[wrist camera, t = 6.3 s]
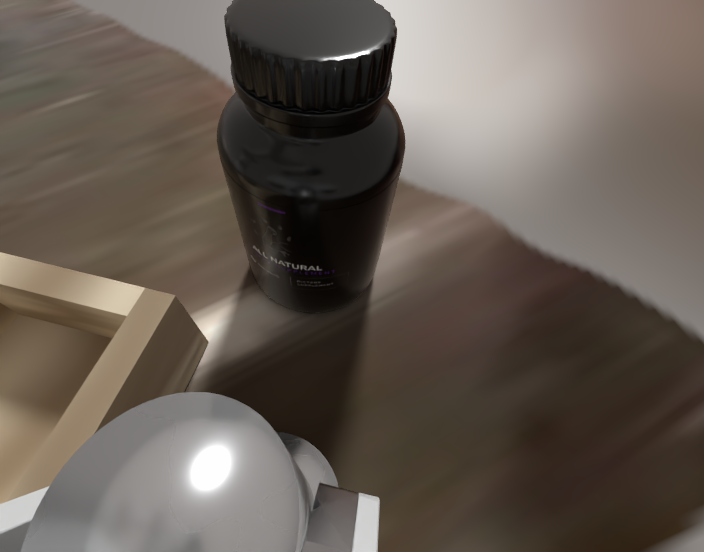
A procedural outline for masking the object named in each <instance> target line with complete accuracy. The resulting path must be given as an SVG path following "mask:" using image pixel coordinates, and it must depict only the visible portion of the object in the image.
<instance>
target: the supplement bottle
mask: <svg viewBox="0 0 704 552" xmlns="http://www.w3.org/2000/svg"><path fill="white" fill-rule="evenodd" d="M224 17H225V28H226V36H227V41H228V46H229V51H230V57H231V74H232V79H233V84H234V88H235V91H236V92H235V93H234V94H233V95H232V96H231V98H230V99H229V100H228V102H227V103H226V105H225V107H224V109H223V111H222V114H221V116H220V120H219V123H218V128H217V144H218V150H219V155H220V159H221V163H222V167H223V170H224V174H225V178H226V181H227V185H228V188H229V192H230V195H231V199H232V203H233V206H234V210H235V213H236V217H237V221H238V224H239V228H240V231H241V235H242V238H243V242H244V246H245V249H246V253H247V256H248V260H249V263H250V266H251V269H252V273H253V275H254V277H255V280H256V282H257V283H258V285H259V287H260V288H261V289H262V290H263V292H264V293H265V294H266V295H267V296H269V297H270V298H271V299H272V300H274V301H275V302H277V303H278V304H280V305H282V306H284V307H287V308H289V309H292V310H296V311H300V312H309V313H318V312H327V311H331V310H335V309H338V308H341V307H343V306H345V305H347V304H349V303H351V302H352V301H353V300H355V299H356V298H357V297H359V296H360V295H361V294H362V293H363V292H364V291H365V289H366V288H367V287H368V285H369V283H370V282H371V280H372V278H373V275H374V272H375V269H376V266H377V262H378V259H379V255H380V251H381V247H382V243H383V239H384V235H385V231H386V227H387V223H388V219H389V215H390V211H391V207H392V203H393V199H394V196H395V192H396V188H397V184H398V180H399V176H400V172H401V168H402V163H403V158H404V152H405V133H404V129H403V125H402V122H401V120H400V117H399V115H398V113H397V111H396V109H395V108H394V106H393V105H392V103H391V102H390V101H389V99H388V95H389V91H390V86H391V79H392V73H391V67H392V60H393V55H394V49H395V43H396V37H397V28H396V26H395V20H394V19H393V18H392V17H391V15H390V12H388V11H387V10H385V9H384V7H383V6H382V5H380V4H378V3H376V2H375V1H374V0H233V1H232V5H230V6H229V7H228V8H227V13H226V14H225V16H224Z"/></svg>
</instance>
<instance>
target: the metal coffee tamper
mask: <svg viewBox="0 0 704 552" xmlns="http://www.w3.org/2000/svg"><path fill="white" fill-rule="evenodd" d="M319 482H320V483H324V484H328V485H331V486H335V487H339V486H338V483H337V480H336V477H335V474H334V472H333V470H332V468H331V466H330V465H329V463H328V461H327V460H326V458H325V457H324V456H323V455H322V453H321V452H320V451H319V450H318V449H317V448H316V447H315V446H313V445H312V444H310V443H309V442H308V441H306V440H304V439H302V438H300V437H298V436H295V435H292V434H288V433H283V432H275V431H274V429H273V428H272V427H271V425H270V424H269V423H268V422H267V421H266V420H265V419H264V418H263V417H262V416H261V415H260V414H258V413H257V412H256V411H254V410H253V409H251V408H250V407H249V406H247V405H245V404H243V403H241V402H239V401H237V400H235V399H232V398H229V397H226V396H223V395H219V394H214V393H208V392H185V393H176V394H171V395H166V396H162V397H159V398H156V399H153V400H150V401H147V402H145V403H143V404H140V405H138V406H136V407H134V408H132V409H130V410H128V411H126V412H125V413H123V414H121V415H120V416H118V417H116V418H115V419H113V420H112V421H111V422H109V423H108V424H106V425H105V426H104V427H102V428H101V429H100V430H99V431H97V432H96V433H95V434H94V435H93V436H92V437H90V438H89V439H88V440H87V441H86V442H85V443H84V444H83V445H82V446H81V447H80V448H79V449H78V450H77V451H76V452H75V453H74V454H73V455H72V457H71V458H70V459H69V460H68V462H67V463H66V464H65V465H64V467H63V468H62V469H61V470H60V472H59V473H58V474H57V476H56V477H55V479H54V480H53V482H52V483H51V485H50V486H49V488H48V489H47V491H46V493H45V495H44V497H43V498H42V500H41V502H40V504H39V506H38V508H37V509H36V512H35V514H34V516H33V519H32V521H31V523H30V526H29V528H28V530H27V533H26V536H25V540H24V543H23V546H22V549H21V552H302V550H303V546H304V543H305V538H306V534H307V529H308V523H309V519H310V515H311V512H312V509H313V505H314V501H315V496H316V493H317V489H318V485H319Z"/></svg>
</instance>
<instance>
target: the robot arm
mask: <svg viewBox="0 0 704 552" xmlns="http://www.w3.org/2000/svg"><path fill="white" fill-rule="evenodd" d="M48 488H49V486H48V487H46V488H43V489H40V490H38V491H35V492H32V493H29V494H27V495H24V496H21V497H18V498H16V499H13V500H10V501H8V502H5V503H2V504H0V552H21V549H22V546H23V543H24V540H25V536H26V533H27V530H28V528H29V526H30V523H31V521H32V519H33V516H34V514H35V512H36V509H37V508H38V506H39V504H40V502H41V500H42V498H43V497H44V495H45V493H46V491H47V489H48ZM379 506H380V501H379V498H378V497H374V496H370V495H367V494H363V493H358V492H354V491H350V490H346V489H343V488H339V487H335V486H331V485H328V484H324V483H320V482H319V485H318V489H317V493H316V496H315V501H314V505H313V509H312V512H311V515H310V519H309V523H308V529H307V534H306V538H305V543H304V546H303V550H302V552H377V551H378V529H379Z"/></svg>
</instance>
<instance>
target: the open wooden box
mask: <svg viewBox="0 0 704 552" xmlns="http://www.w3.org/2000/svg"><path fill="white" fill-rule="evenodd" d="M207 344H208V341H207V339H206V338H205V336H204V335H203V334H202V332H201V331H200V329H199V328H198V327H197V325H196V324H195V322H194V321H193V319H192V318H191V317H190V315H189V314H188V312H187V311H186V310H185V308H184V307H183V305H182V304H181V303H180V301H179V300H178V298H177V297H176V295H172V294H168V293H164V292H159V291H155V290H151V289H147V288H143V287H139V286H135V285H131V284H127V283H123V282H119V281H115V280H111V279H107V278H102V277H98V276H94V275H90V274H86V273H82V272H78V271H74V270H70V269H66V268H62V267H58V266H54V265H50V264H45V263H41V262H37V261H33V260H29V259H25V258H21V257H17V256H13V255H9V254H5V253H1V252H0V504H2V503H5V502H8V501H10V500H13V499H16V498H18V497H21V496H24V495H27V494H29V493H32V492H35V491H38V490H40V489H43V488H46V487H48V486H50V485H51V483H52V482H53V480H54V479H55V477H56V476H57V474H58V473H59V472H60V470H61V469H62V468H63V467H64V465H65V464H66V463H67V462H68V460H69V459H70V458H71V457H72V455H73V454H74V453H75V452H76V451H77V450H78V449H79V448H80V447H81V446H82V445H83V444H84V443H85V442H86V441H87V440H88V439H89V438H90V437H92V436H93V435H94V434H95V433H96V432H97V431H99V430H100V429H101V428H102V427H104V426H105V425H106V424H108V423H109V422H111V421H112V420H113V419H115V418H116V417H118V416H120V415H121V414H123V413H125V412H126V411H128V410H130V409H132V408H134V407H136V406H138V405H140V404H143V403H145V402H147V401H150V400H153V399H156V398H159V397H162V396H166V395H171V394H176V393H184V391H185V389H186V387H187V385H188V383H189V381H190V379H191V377H192V375H193V373H194V371H195V369H196V367H197V365H198V363H199V361H200V359H201V357H202V355H203V352H204V350H205V348H206V346H207Z"/></svg>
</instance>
